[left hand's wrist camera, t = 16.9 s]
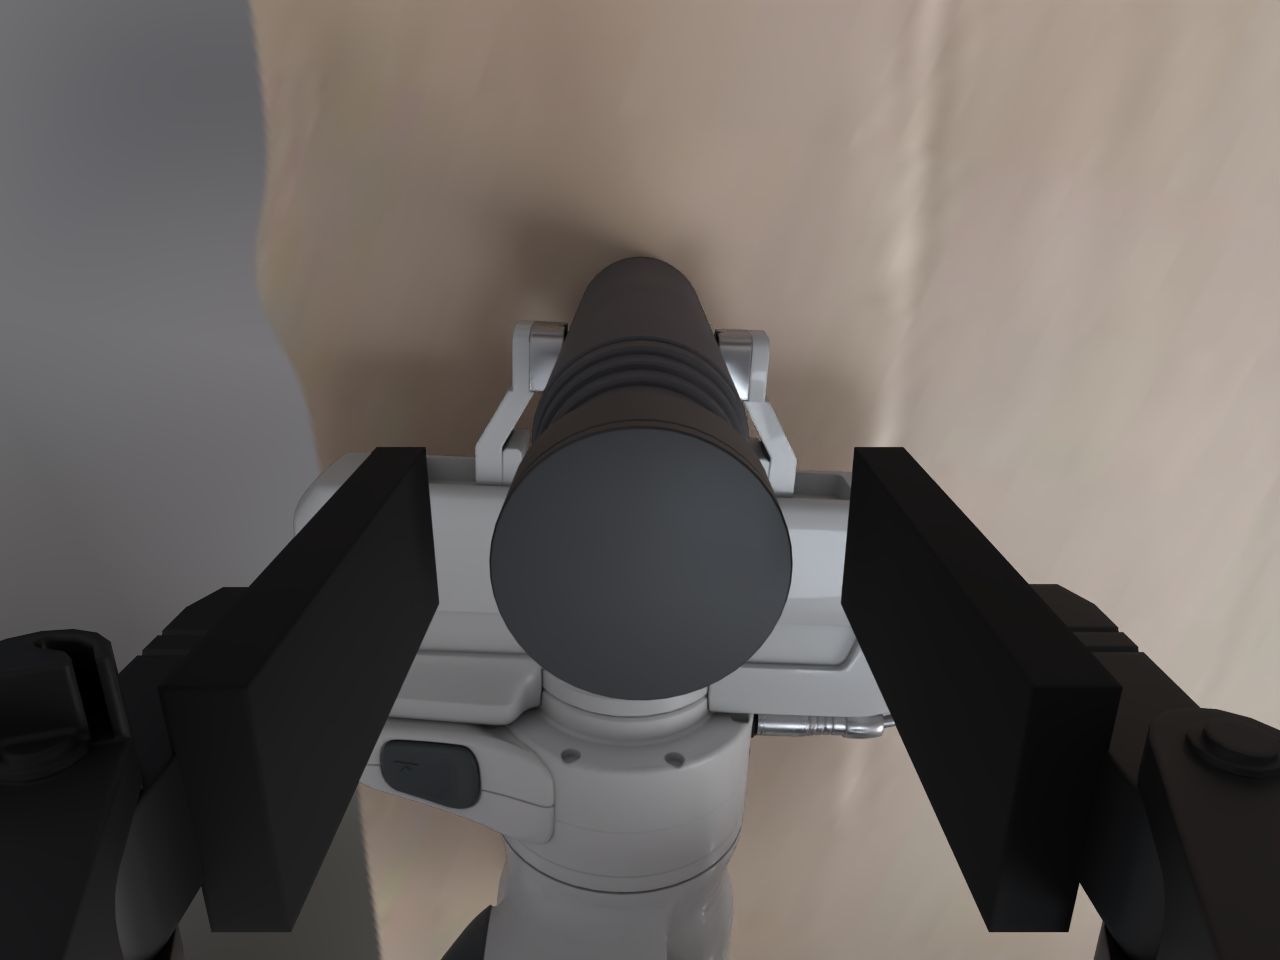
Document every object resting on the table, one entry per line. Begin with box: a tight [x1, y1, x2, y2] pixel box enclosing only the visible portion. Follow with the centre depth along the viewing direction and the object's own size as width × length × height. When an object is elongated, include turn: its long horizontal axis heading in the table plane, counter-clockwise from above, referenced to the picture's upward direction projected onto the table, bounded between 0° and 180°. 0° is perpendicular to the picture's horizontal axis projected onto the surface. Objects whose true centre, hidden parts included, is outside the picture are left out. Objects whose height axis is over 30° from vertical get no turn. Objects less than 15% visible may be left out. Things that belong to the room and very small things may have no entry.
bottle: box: [532, 257, 750, 445], centre depth 22 cm, size 4×4×20 cm
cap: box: [489, 393, 793, 700], centre depth 13 cm, size 4×4×2 cm
